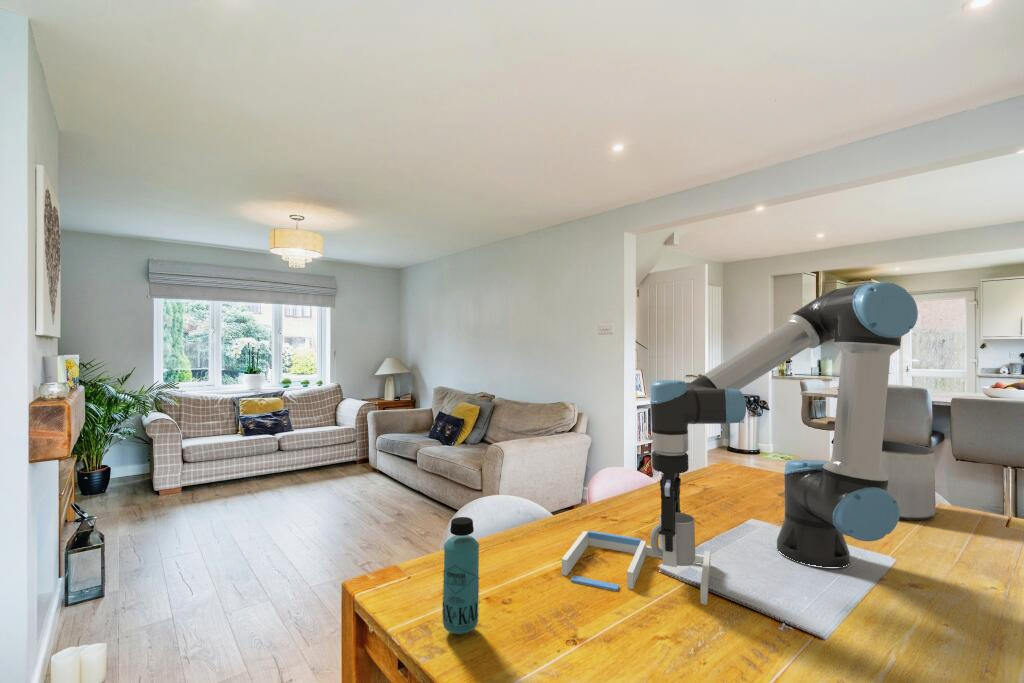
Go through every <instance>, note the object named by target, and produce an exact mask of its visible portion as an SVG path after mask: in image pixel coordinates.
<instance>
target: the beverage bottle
mask: <svg viewBox="0 0 1024 683" xmlns="http://www.w3.org/2000/svg"><path fill="white" fill-rule="evenodd" d="M474 529H475V528H474V520H473V519H472V518H471V517H467V516H459V517H455V518H452V519H451V522H450V529H449V530H450V534H451V535H453V536H450V537H449V538H448V539H447V540H446V541H445V543H444V545H443V548H444V549H443V550H444V551H443V552H444V554H443V555H444V557H443V571H442V575H443V580H442V593H441V594H442V609H441V610H442V612H441V613H442V614H441V616H442V617H441V620H442V621H441V623H442V625H443V628H444V629H445V630H446V631H447V632H448V633H452V634H457V635H458V634H459V635H462V634H467V633H470V632H472V631H473V630H474V629H476V627H477V626H478V623H479V618H480V617H479V597H480V595H479V592H480V589H479V588H480V585H479V583H480V577H479V574H480V573H479V571H480V570H479V565H480V562H479V560H480V559H479V554H480V550H479V549H480V543H479V541H477V540H476V538H474V537H473V536H472V535H471V534H473V533H474Z"/></svg>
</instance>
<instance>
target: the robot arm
mask: <svg viewBox="0 0 1024 683" xmlns="http://www.w3.org/2000/svg"><path fill="white" fill-rule="evenodd" d="M918 309H919V308H918V306H917V302H916V300H915V299H914V297H913V295H912V294H910V293H909V292H908V291H907V289H905V288H904V287H903V286H901V285H899V284H897V283H893V282H887V281H886V282H885V281H880V282H866V283H863V284H858V285H854V286H848V287H842V288H837V289H832V290H831V291H828V292H825V293H823V294H822V295H820V296H818V297H816V298H814V300H812V301H810V302H808V303H806V304H805V305H803V306H802V307H801V308H799V309H798V310H796V311H795V312H793V313H792V314H790V315H788V317H787V318H786V322H785V323H784V324H782V325H780V326H779V327H777V328H776V329H774V330H772V331H771V332H770V333H768V334H766V335H765V336H763V337H761V338H760V339H758V340H756V341H754V343H752V344H750V345H749V346H747V347H745V348H744V349H742V350H740V351H739V352H738V353H736V354H734V355H733V356H731V357H729V358H727V359H726V360H724V361H723V362H722V363H720V364H718V365H717V366H715V367H714V368H712V369H710V370H709V371H707V372H706V373H704V374H702V375H701V376H699V377H697V378H696V379H694V380H692V381H691V382H690V381H689V382H686V381H684V380H680V379H679V380H678V379H677V380H676V379H663V380H662V379H661V380H655V381H653V382H652V383H651V388H650V400H649V403H650V414H651V416H650V417H651V435H650V434H649V436H648V439H649V440H652V441H651V449H652V450H653V452H652V453H651V464H652V465H651V466H652V467H651V468H652V469H653V470H654V471H656V472H658V473H659V472H661V473H662V474H663V475H661V479H660V480H659V486H660V488H659V489H660V501H661V504H660V506H661V507H660V509H661V510H660V511H661V512H660V514H661V531H659V535H660V534H661V535H662V543H663V560H662V566H666V567H667V566H668V567H673V568H677V567H678V566H677V548H676V532H675V512H680V513H682V511H681V501H680V500H681V498H680V495H681V482H682V479H681V477H680V475H681V474H683V473H686V472H688V471H689V454H688V453H687V452H688V451H689V429H688V427H689V425H698V424H699V425H701V424H702V425H703V424H709V425H711V424H712V425H713V424H715V425H718V424H720V425H721V424H722V425H724V424H725V425H728V424H739V423H741V422H743V420H745V416H746V413H747V402H746V398H745V396H744V394H743V392H742V391H741V389H743V388H744V387H745V388H746V386H748V385H749V384H751V383H753V382H755V381H756V380H758V379H759V378H761V377H763V376H764V375H766V374H767V373H768V372H771V371H772V370H774V369H775V368H777V367H779V366H780V365H782V364H783V363H786V362H787V361H788V360H789V359H790V360H791V359H792V358H793V357H795V356H797V355H798V354H799V353H801V352H803V351H804V350H806V349H815V348H818V347H820V346H821V345H823V344H825V343H828V342H830V341H833V340H834V343H833V344H834V346H835V347H837V349H838V350H839V351H840V353H841V356H840V358H841V359H840V364H839V365H840V368H839V379H838V385H837V386H838V387H837V388H838V389H837V399H836V408H835V419H834V432H833V442H832V452H831V454H832V455H831V459H830V460H821V459H790V460H788V461H787V462H786V463H785V465H784V473H783V476H784V520H783V523H782V526H781V528H780V529H779V530H780V531H779V534H778V536H777V538H776V550H777V549H778V550H777V551H780V552H781V553H782V554H784V555H785V556H787V557H789V558H791V559H793V560H795V561H798V562H802V563H805V564H810V565H816V566H822V567H843V566H846V565H848V564H849V563H850V564H851V555H850V554H851V552H850V550H849V547H848V545H847V541H846V540H845V536H847V537H850V538H853V539H854V540H857V541H861V542H875V541H879V540H882V539H883V538H885V537H886V535H890V534H891V533H892V532H893V531H894V530H895V528H896V527H897V525H898V523H899V520H900V519H899V516H900V509H899V505H898V503H897V501H895V500H894V497H893V496H892V495H891V494H890V493H888V491H887V489H888V477H887V475H886V474H885V473H884V472H883V471H882V470H881V468H880V465H881V454H882V442H883V440H884V430H885V419H886V418H885V417H886V409H887V408H886V407H887V398H888V397H887V396H888V384H889V375H890V363H891V356H892V355H893V354H894V353H895V352H897V351H898V350H900V349H901V343H902V337H903V336H905V335H907V334H908V333H910V331H911V330H913V329H914V328H915V326H916V324H917V321H918V317H919V316H918V315H919V311H918ZM669 529H670V530H669ZM844 535H845V536H844ZM795 561H794V562H795ZM798 562H797V563H798ZM850 564H849V565H850ZM849 565H848V566H849Z"/></svg>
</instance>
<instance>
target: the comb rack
mask: <svg viewBox="0 0 1024 683" xmlns="http://www.w3.org/2000/svg"><path fill="white" fill-rule="evenodd" d="M588 546H589V547H590V546H591V547H597V548H601V549H607V550H613V551H619V552H624V553H629V554H634V555H633V558H632V560H631V561H630V564H629V566H628V569H627V570H626V589H628V590H634V588H635V585H636V582H637V581H638V578H639V575H640V572H641V570H642V568H643V565H644V562H645V559H646V557H647V556H648V557H651V558H658V559H662V558H661V556H658V555H656V554H655V553H654V552H653V550H652V548H651V545H647V541H646V540H643V539H642V538H638V537H632V536H626V535H621V534H614V533H613V534H612V533H607V532H600V531H594V530H588V531H586V530H583V531H582V532H581V533H580V535H579V536H578V537H577V539H576V540H575V541H574V542H573V544H572V545H571V546H570V547H569V549H568V550H567V552H566V553H565V554H564V555H563V557H562V558H561V575H562V576H566V577H567V576H568V575H569V574H570V572H571V570H573V568H574V566H575V565H576V563H577V562H578V561H579V559H580V557H581V556H582V555H583V554H584V553H585V551H586V549H587V548H588ZM703 552H704V553H703V554H698V553H695V561H694V562H695V563H701V564H703V565H702V570H701V579H700V604H702V605H706V606H707V605H708V597H709V587H708V585H709V584H710V575H709V573H710V572H711V551H710V550H704V551H703ZM570 582H571V583H575V584H580V585H584V586H590V587H594V588H598V589H602V590H603V589H604V590H608V591H611V592H612V591H613V592H618V590H619V588H620V584H616V583H614V582H607V581H603V580H597V579H593V578H589V577H588V578H587V577H583V576H577V575H575V574H574V575H572V576H571V579H570Z"/></svg>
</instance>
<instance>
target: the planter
mask: <svg viewBox="0 0 1024 683" xmlns="http://www.w3.org/2000/svg"><path fill="white" fill-rule="evenodd" d="M935 461H936V460H935V450H934V449H933V448H930V447H927V446H924V445H919V444H915V443H910V442H904V441H897V440H886V439H883V442H882V454H881V465H880V468H881V470H882V471H883V472H884V473H885V474H886V475H887V477H888V489H887V491H888V493H890V494H891V495H892V496H893V497H894V500H895V501H897V503H898V505H899V509H900V516H899V520H901V521H902V520H903V521H922V520H928V519H930V518H932V517H935V515H936V508H937V507H936V505H937V504H936V476H935V474H936V472H935V471H936V470H935V469H936V466H935V464H936V462H935Z"/></svg>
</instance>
